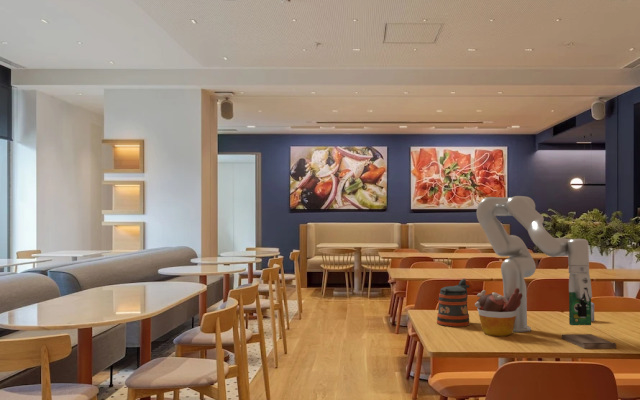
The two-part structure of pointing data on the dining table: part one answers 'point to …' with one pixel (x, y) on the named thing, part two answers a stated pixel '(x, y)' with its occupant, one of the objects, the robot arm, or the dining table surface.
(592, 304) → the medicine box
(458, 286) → the beer stein
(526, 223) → the robot arm
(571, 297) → the coffee box
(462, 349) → the dining table surface
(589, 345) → the walnut board
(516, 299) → the bucket of meat
